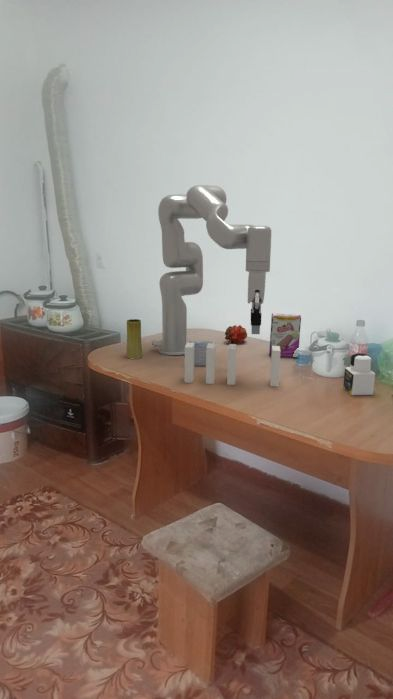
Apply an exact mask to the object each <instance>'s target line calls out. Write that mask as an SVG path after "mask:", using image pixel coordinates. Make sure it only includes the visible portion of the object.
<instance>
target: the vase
mask: <svg viewBox="0 0 393 699" xmlns="http://www.w3.org/2000/svg"><path fill="white" fill-rule="evenodd" d="M142 346H143V344H142V321H141V319H137V318H131V319H127V320H126V355H125V356H127V357H128V358H127V357H126V358H127V359H129V358H139V359H142V358H143V347H142ZM141 357H142V358H141Z"/></svg>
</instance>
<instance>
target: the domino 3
mask: <svg viewBox="0 0 393 699" xmlns="http://www.w3.org/2000/svg"><path fill="white" fill-rule="evenodd" d="M237 344H238V343H236V344H235V343H233V344H231V343H229V344H228V348H227V349H228V350H227V351H228V352H227V353H228V354H227V375H226V376H227V379H226V380H227V382H226V383H227V385H231V386H232V385H233V386H235V385H236V379H237V378H236V374H237V350H238V349H237V346H238V345H237Z"/></svg>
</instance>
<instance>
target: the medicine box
mask: <svg viewBox="0 0 393 699" xmlns="http://www.w3.org/2000/svg"><path fill="white" fill-rule="evenodd" d="M188 343H194V367H204V366H205V367H206V348H207V345H208V343H213V342H212V341H211V339H210V340H209V339H201V340H200V339H199V340H189V342H188Z"/></svg>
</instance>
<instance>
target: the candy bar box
mask: <svg viewBox="0 0 393 699" xmlns="http://www.w3.org/2000/svg"><path fill="white" fill-rule="evenodd" d="M301 326H302V315H301V314H298V313H297V314H296V313H295V314H293V313H292V314H291V313H273V312H272V313H271V322H270V333H269V334H270V335H269V336H270V337H269V352H268V354H269V358H271V353H272V346H280V351H281V352H280V358H290V357H293V354H294V351H295V350H296V349H297V348H299V349H300V339H301V337H300V335H301Z"/></svg>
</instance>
